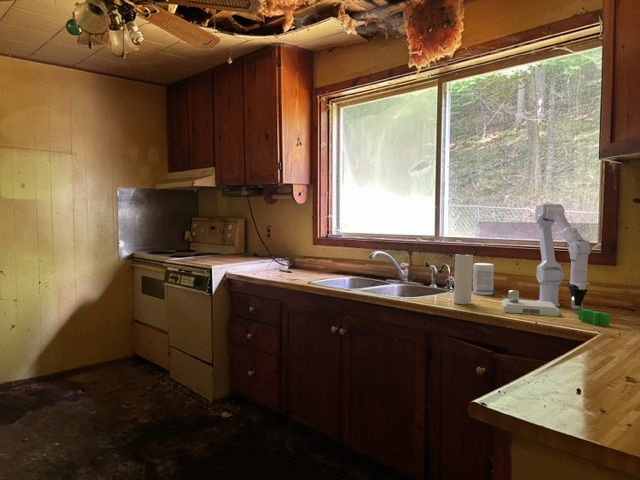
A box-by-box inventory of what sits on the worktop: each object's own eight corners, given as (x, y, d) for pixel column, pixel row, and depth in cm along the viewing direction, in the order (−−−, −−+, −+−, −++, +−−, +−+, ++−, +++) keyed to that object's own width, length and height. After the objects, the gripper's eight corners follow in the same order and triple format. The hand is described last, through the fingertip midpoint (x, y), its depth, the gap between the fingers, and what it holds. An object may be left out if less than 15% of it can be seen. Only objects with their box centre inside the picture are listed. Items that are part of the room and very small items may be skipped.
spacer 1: (507, 300, 195) (508, 289, 195) (518, 301, 194) (518, 290, 194) (508, 302, 192) (508, 291, 191) (518, 303, 190) (519, 292, 190)
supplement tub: (497, 294, 228) (498, 264, 227) (483, 296, 223) (484, 265, 222) (482, 291, 236) (483, 262, 235) (468, 292, 232) (469, 263, 231)
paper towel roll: (453, 304, 202) (455, 254, 201) (454, 301, 208) (455, 253, 207) (470, 305, 200) (472, 255, 199) (471, 302, 206) (473, 254, 204)
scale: (501, 305, 201) (501, 297, 201) (552, 309, 195) (553, 301, 195) (503, 312, 187) (503, 304, 187) (559, 316, 181) (559, 308, 181)
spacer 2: (570, 307, 191) (570, 296, 191) (581, 307, 190) (581, 296, 190) (572, 309, 187) (572, 297, 187) (583, 309, 186) (584, 298, 186)
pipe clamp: (573, 320, 175) (574, 308, 175) (580, 320, 177) (580, 308, 177) (602, 327, 165) (603, 314, 165) (609, 326, 167) (610, 313, 167)
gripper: (594, 274, 179) (592, 309, 180) (585, 269, 193) (583, 302, 194) (574, 272, 182) (572, 307, 183) (566, 268, 195) (565, 300, 196)
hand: (576, 304), depth 189 cm, fingers closed on spacer 2, 4 cm apart
